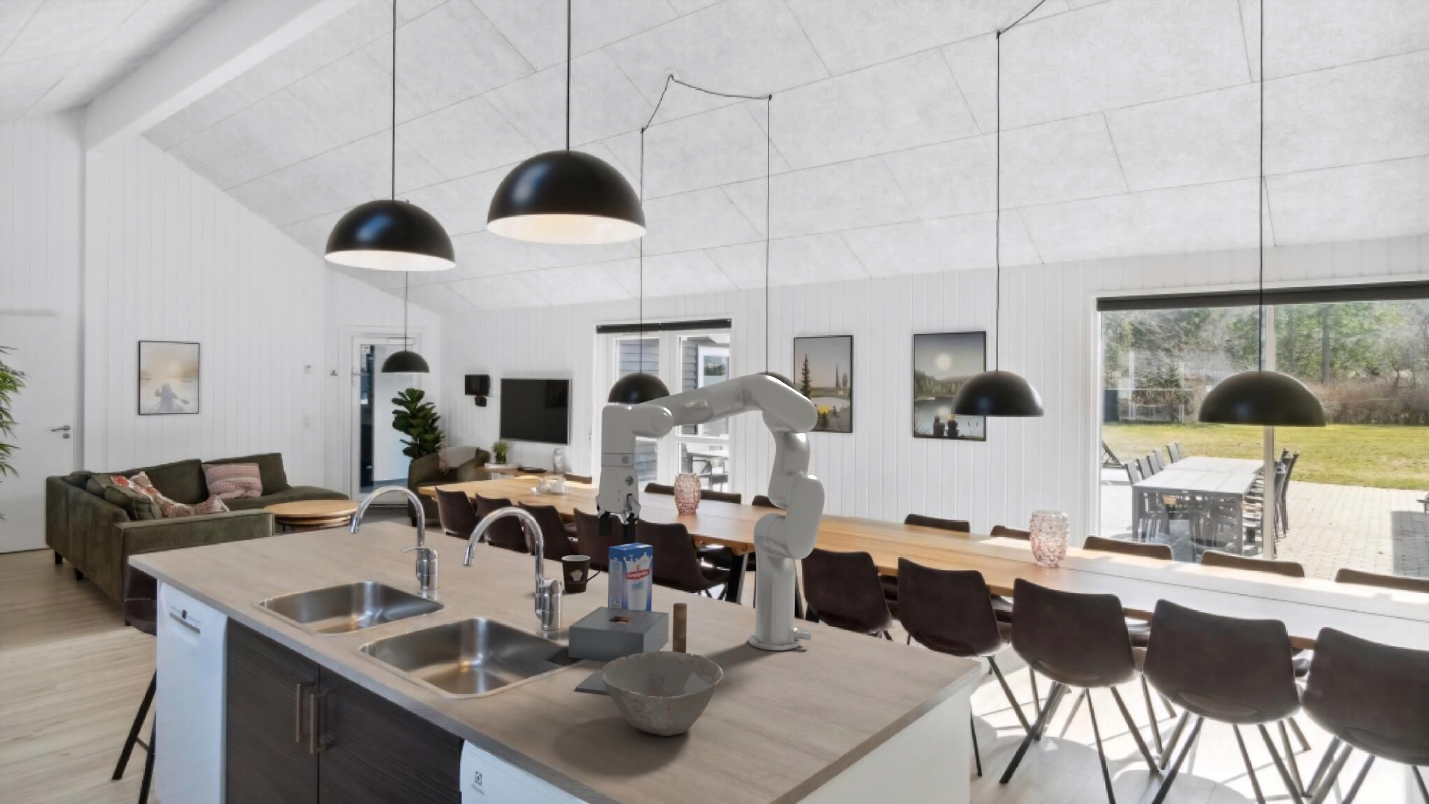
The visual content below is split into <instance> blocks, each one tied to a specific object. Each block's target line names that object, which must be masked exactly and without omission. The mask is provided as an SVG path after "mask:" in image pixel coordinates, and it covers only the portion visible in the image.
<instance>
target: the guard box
mask: <svg viewBox="0 0 1429 804" xmlns="http://www.w3.org/2000/svg"><path fill="white" fill-rule="evenodd" d="M669 619H670V613H669V612H665V611H664V612H662V611H652V610H651V611H642V610H631V609H621V608H610V607H608V606H599V607H598V608H596V609H594V610H593V611H591V612H589V613H588V614H587V615H585V616H584V617H581V618H580V619H579V620H577V621H576V622H574V623H572V624H571V625H568V658H573V659H582V660H589V661H601V662H607V663H609V662H610V661H613V660H615V659H617V658H620V657H624V656H625V657H628V655H632V654H636V653H640V654H641V653H643V652H650V653H652V652H653V651H654V652H657V651H661V649H662V648H663V647H664V646H666V644H667V643H669V629H670V628H669V626H670V625H669V623H670V621H669ZM621 622H627V623H621Z"/></svg>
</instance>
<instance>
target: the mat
mask: <svg viewBox="0 0 1429 804" xmlns="http://www.w3.org/2000/svg"><path fill="white" fill-rule="evenodd" d="M575 691H578V692H586V693H594V694H602V695H609V693H608V691H607V689H606V687H605V685H604V683H603V680H602V678H601V670H600V671H599V670H595V671H593V672H592V673H591V674H590V675H588V676H587V677H586V678H585V679H584V680H582V682H580V683H579V684H578V685H577V686H575Z"/></svg>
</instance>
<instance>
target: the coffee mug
mask: <svg viewBox="0 0 1429 804" xmlns="http://www.w3.org/2000/svg"><path fill="white" fill-rule="evenodd" d="M590 561H591V557H590V556H588V555H584V554H583V555H582V554H579V555H576V554H575V555H573V554H571V555H566V556H562V557H561V564H562V576H563V586H564V592H565V591H566V592H565V593H568V594H582V593H585V592H586V591H587V585H588V582H589V581H591V580H592V579H594V578H595V577H597V576H598V575H599V574H600V573H601V572H602V570H603V565H602V563H601V562H600V561H598V560H594V561H592V562H590ZM594 564H598V565H599V567H600V569H599V570H598V572H596V573H595V574H593V575H592V576H590V577H589V570H590V568H591V567H592V565H594Z"/></svg>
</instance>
